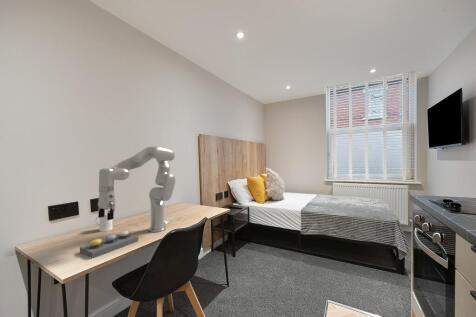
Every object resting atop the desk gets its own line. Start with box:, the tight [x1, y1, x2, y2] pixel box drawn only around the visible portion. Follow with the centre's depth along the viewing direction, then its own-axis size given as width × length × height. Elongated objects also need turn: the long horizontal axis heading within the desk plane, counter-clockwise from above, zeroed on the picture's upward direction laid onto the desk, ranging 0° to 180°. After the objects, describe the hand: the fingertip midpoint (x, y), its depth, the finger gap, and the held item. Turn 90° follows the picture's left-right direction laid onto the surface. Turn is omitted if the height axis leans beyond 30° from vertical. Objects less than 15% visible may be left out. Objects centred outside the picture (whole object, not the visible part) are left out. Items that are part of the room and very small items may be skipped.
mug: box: [95, 211, 114, 233], centre depth 150 cm, size 12×8×12 cm
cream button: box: [119, 229, 130, 236], centre depth 127 cm, size 5×5×2 cm
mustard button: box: [90, 238, 103, 246], centre depth 113 cm, size 5×5×2 cm
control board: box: [79, 233, 139, 259], centre depth 120 cm, size 26×14×3 cm, turn 150°
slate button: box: [105, 233, 117, 241], centre depth 120 cm, size 5×5×2 cm
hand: (105, 218), depth 118 cm, fingers open, 9 cm apart
